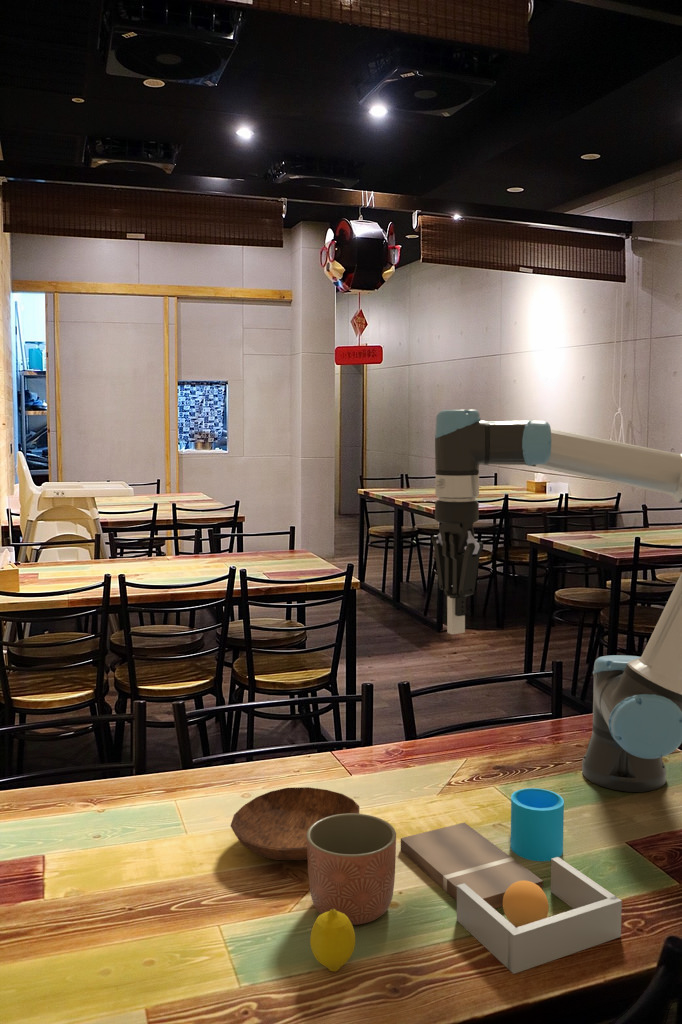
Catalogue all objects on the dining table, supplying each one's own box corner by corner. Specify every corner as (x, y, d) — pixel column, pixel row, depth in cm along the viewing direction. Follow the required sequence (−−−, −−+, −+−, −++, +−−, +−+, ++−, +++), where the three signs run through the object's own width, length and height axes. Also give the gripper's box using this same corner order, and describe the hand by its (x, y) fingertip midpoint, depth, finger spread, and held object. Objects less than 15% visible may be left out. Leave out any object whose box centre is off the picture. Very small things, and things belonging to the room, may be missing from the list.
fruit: (340, 950, 109) (339, 890, 108) (364, 973, 104) (363, 911, 103) (302, 965, 106) (301, 904, 105) (325, 989, 101) (325, 926, 100)
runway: (464, 834, 139) (464, 822, 139) (542, 894, 121) (543, 880, 121) (400, 850, 134) (400, 838, 134) (472, 915, 116) (472, 901, 116)
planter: (408, 895, 121) (408, 822, 120) (376, 943, 110) (376, 863, 109) (330, 877, 127) (329, 806, 125) (291, 921, 115) (290, 844, 114)
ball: (523, 892, 118) (533, 864, 115) (551, 929, 114) (563, 901, 111) (489, 908, 116) (499, 880, 113) (516, 946, 111) (527, 918, 108)
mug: (573, 857, 132) (574, 806, 131) (525, 864, 130) (526, 813, 129) (535, 822, 143) (536, 776, 142) (491, 829, 141) (491, 781, 140)
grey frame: (557, 889, 123) (558, 856, 122) (620, 936, 111) (621, 900, 111) (456, 920, 115) (456, 885, 115) (513, 973, 104) (514, 935, 103)
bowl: (379, 827, 142) (379, 798, 142) (321, 893, 122) (321, 859, 122) (276, 806, 150) (276, 778, 150) (206, 864, 131) (205, 833, 130)
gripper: (418, 497, 151) (418, 627, 154) (459, 503, 140) (458, 643, 142) (454, 495, 155) (453, 622, 157) (497, 501, 143) (495, 638, 145)
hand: (456, 632), depth 150 cm, fingers closed
